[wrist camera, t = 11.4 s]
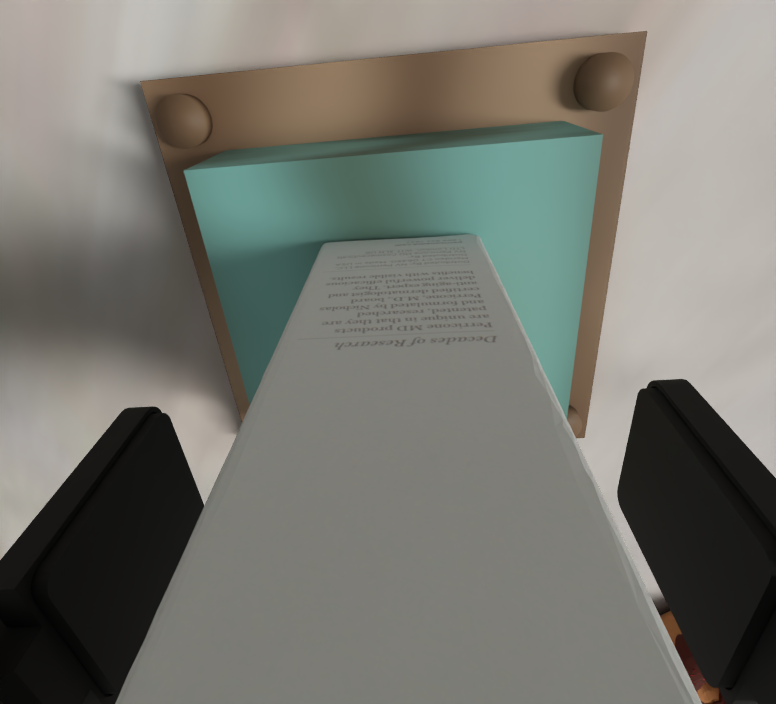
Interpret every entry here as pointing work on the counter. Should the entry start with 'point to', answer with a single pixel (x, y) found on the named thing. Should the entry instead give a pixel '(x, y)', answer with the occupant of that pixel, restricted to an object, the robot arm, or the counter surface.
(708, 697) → the donut
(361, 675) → the skincare box
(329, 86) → the tower base
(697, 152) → the counter surface
